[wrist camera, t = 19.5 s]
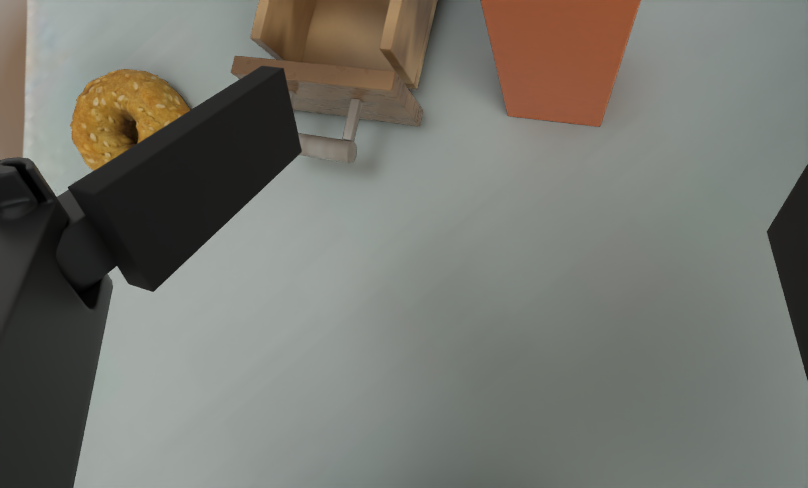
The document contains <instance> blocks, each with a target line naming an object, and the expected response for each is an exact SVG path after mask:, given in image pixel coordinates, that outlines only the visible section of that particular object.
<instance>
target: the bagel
mask: <svg viewBox="0 0 808 488" xmlns="http://www.w3.org/2000/svg"><path fill="white" fill-rule="evenodd" d="M76 101H77V104H76V106H75V110H74V113H73V117H72V118H73V121H72V122H71V124H70V127H71V129H72V140H73V142H74V144H75V145H76V147H77V149H78V151H79V152H80V153H81V155H82V157H83V159H84V161H85V163H86V164H87V165H88V166H89V167H90V168H91V169H92V170H96V169H98V168H99V167H101V166H102V165H104V164H106V163H107V162H109V161H110V160H112V159H114V158H115V157H117V156H118V155H120V154H122V153H123V152H125V151H126V150H128V149H130V148H131V147H133V146H134V145H136V144H138V143H139V142H141V141H142V140H144V139H145V138H147V137H149V136H150V135H152V134H153V133H155V132H157V131H158V130H160V129H161V128H163V127H165V126H166V125H168V124H169V123H171V122H173V121H174V120H176V119H177V118H179V117H181V116H182V115H184V114H185V113H187V112H189V111H190V109H189V107H188V106H187V105H186V103H185V102H184V101H183V99H182V98H181V96H180V95H179V94H178V93H177V92H176V91H175V90H174V89H173V88H171V87H170V85H169V84H168V83H167V82H166V81H164V80H162V79H160V78H159V77H158V76H157V75H153V74H151V73H148V72H146V71H137V70H129V69H122V70H117V71H113V72H110V73H108V74H107V75H105V76H101V77H100V78H97V79H95V80H93V81H91V82H90V83H88V84H87V85H86V87H85V88H84V91H83V92H82V93H81V94H80V95H79V96H78V98H77V100H76ZM137 132H138V134H137ZM138 135H139V136H138Z"/></svg>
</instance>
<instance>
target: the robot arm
mask: <svg viewBox="0 0 808 488" xmlns="http://www.w3.org/2000/svg"><path fill="white" fill-rule="evenodd" d="M301 152H302V149H301V145H300V140H299V135H298V131H297V126H296V122H295V117H294V113H293V108H292V104H291V99H290V94H289V90H288V85H287V81H286V76H285V72H284V68H279V67H270V66H260V67H259V68H257V69H256V70H254V71H252V72H251V73H249V74H248V75H246V76H244V77H243V78H241V79H240V80H238V81H236V82H235V83H233V84H232V85H230V86H228V87H227V88H225V89H224V90H222V91H220V92H219V93H217V94H216V95H214V96H213V97H211V98H209V99H208V100H206V101H205V102H203V103H201V104H200V105H198V106H197V107H195V108H193V109H192V110H190V111H189V112H187V113H185V114H184V115H182V116H181V117H179V118H177V119H176V120H174V121H173V122H171V123H169V124H168V125H166V126H165V127H163V128H161V129H160V130H158V131H157V132H155V133H153V134H152V135H150V136H149V137H147V138H145V139H144V140H142V141H141V142H139V143H138V144H136V145H134V146H133V147H131V148H130V149H128V150H126V151H125V152H123V153H122V154H120V155H118V156H117V157H115V158H114V159H112V160H110V161H109V162H107V163H106V164H104V165H102V166H101V167H99V168H98V169H96V170H94V171H93V172H91V173H90V174H88V175H86V176H85V177H83V178H82V179H80V180H78V181H77V182H75V183H74V184H72V185H70V186H69V187H68V189H69V190H67V191H66V192H64V193H63V194H61V195H60V196H58V197H56V196H55V194H54V193H53V191H52V190H51V188H50V187H49V185H48V184H47V182H46V181H45V179H44V178H43V176H42V175H41V173H40V171H39V170H38V168H37V167H36V165H35V164H34V162H32V161H31V160H30V159H28V158H8V159H3V160H0V488H73V486H74V481H75V476H76V471H77V466H78V461H79V456H80V451H81V446H82V441H83V436H84V430H85V425H86V420H87V415H88V410H89V405H90V400H91V395H92V390H93V385H94V380H95V375H96V370H97V365H98V360H99V355H100V350H101V344H102V339H103V334H104V329H105V324H106V319H107V314H108V309H109V304H110V299H111V294H112V289H113V285H112V280H111V279H110V277H109V276H108V274H107V273H109V272H110V271H111V270H112V269H113V268H115V267H116V266H118V268H119V269H120V271H121V273H122V274H123V276H124V277H125V279H126V281H127V282H128V284H130V285H133V286H136V287H140V288H143V289H146V290H149V291H152V292H154V291H155V290H156V289H157V288H158V287H159V286H160V285H161V284H162V283H163V282H164V281H165V280H166V279H167V278H169V277H170V276H171V275H172V274H173V273H174V272H175V271H176V270H177V269H178V268H179V267H180V266H181V265H182V264H183V263H184V262H186V261H187V260H188V259H189V258H190V257H191V256H192V255H193V254H194V253H195V252H196V251H197V250H198V249H199V248H200V247H201V246H202V245H204V244H205V243H206V242H207V241H208V240H209V239H210V238H211V237H212V236H213V235H214V234H215V233H216V232H217V231H218V230H219V229H221V228H222V227H223V226H224V225H225V224H226V223H227V222H228V221H229V220H230V219H231V218H232V217H233V216H234V215H235V214H236V213H237V212H239V211H240V210H241V209H242V208H243V207H244V206H245V205H246V204H247V203H248V202H249V201H250V200H251V199H252V198H253V197H254V196H256V195H257V194H258V193H259V192H260V191H261V190H262V189H263V188H264V187H265V186H266V185H267V184H268V183H269V182H270V181H271V180H272V179H274V178H275V177H276V176H277V175H278V174H279V173H280V172H281V171H282V170H283V169H284V168H285V167H286V166H287V165H288V164H289V163H291V162H292V161H293V160H294V159H295V158H296V157H297V156H298V155H299V154H300V153H301ZM767 234H768V238H769V241H770V245H771V249H772V252H773V256H774V260H775V263H776V267H777V271H778V274H779V278H780V282H781V285H782V289H783V292H784V296H785V300H786V303H787V307H788V311H789V314H790V318H791V322H792V325H793V329H794V333H795V336H796V340H797V343H798V347H799V351H800V354H801V358H802V362H803V365H804V369H805V373H806V376H807V380H808V164H807V166H806V168H805V169H804V171H803V173H802V174H801V176H800V178H799V179H798V181H797V183H796V184H795V186H794V188H793V189H792V191H791V193H790V194H789V196H788V198H787V199H786V201H785V202H784V204H783V206H782V207H781V209H780V211H779V212H778V214H777V216H776V217H775V219H774V221H773V222H772V224H771V226H770V227H769V229H768V231H767Z"/></svg>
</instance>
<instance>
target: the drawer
mask: <svg viewBox="0 0 808 488" xmlns="http://www.w3.org/2000/svg"><path fill="white" fill-rule="evenodd" d="M436 4H437V0H259V3H258V7H257V11H256V15H255V20H254V24H253V28H252V32H251V37H250V38H251V39H252V40H253V41H254V42H256V43H257V44H258V45H259V46H260V47H262V48H263V49H264V50H265V51H266V52H268V53H269V54H270V55H271V56H272V57H274V58H275V59H276V60H274V59H263V58H253V57H243V56H235V57H234V61H233V65H232V70H231V73H232V74H233V75H235V76H236V77H238V78H239V79H241V78H243V77H244V76H246V75H248V74H249V73H251V72H252V71H254V70H256V69H257V68H259V67H260V66H270V67H279V68H284V72H285V76H286V81H287V85H288V90H289V94H290V99H291V104H292V108H293V109H294V110H302V111H309V112H317V113H324V114H332V115H339V116H347V120H346V124H345V129H344V133H343V137H342V139H343V140H340V139H334V138H327V137H321V136H314V135H307V134H301V133H298V135H299V140H300V145H301V149H302V152H301V153H300V154H299V155H303V156H309V157H315V158H321V159H327V160H333V161H339V162H345V163H352V162H354V160H355V158H356V154H357V147H356V144H355V142H354V139H355V135H356V130H357V126H358V121H359V118H362V119H369V120H377V121H384V122H392V123H399V124H407V125H414V126H420V123H421V118H422V114H423V109H422V108H421V106H420V105H419V104H418V102H417V101H416V99H415V98H414V97H413V95H412V94H411V92H410V91H409V90H408V88H410V89H417V88H418V83H419V79H420V75H421V70H422V66H423V61H424V57H425V53H426V48H427V44H428V39H429V35H430V31H431V26H432V22H433V17H434V13H435V9H436Z"/></svg>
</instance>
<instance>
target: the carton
mask: <svg viewBox="0 0 808 488" xmlns="http://www.w3.org/2000/svg"><path fill="white" fill-rule="evenodd" d="M640 1H641V0H481V5H482V9H483V13H484V17H485V21H486V26H487V30H488V34H489V38H490V43H491V47H492V51H493V55H494V59H495V64H496V68H497V72H498V76H499V81H500V85H501V89H502V93H503V98H504V102H505V106H506V110H507V114H508V116H512V117H520V118H529V119H538V120H546V121H555V122H563V123H572V124H581V125H589V126H598V127H599V126H601V123H602V119H603V116H604V113H605V110H606V107H607V104H608V101H609V98H610V95H611V92H612V88H613V85H614V82H615V79H616V76H617V73H618V70H619V67H620V64H621V60H622V57H623V54H624V51H625V48H626V45H627V42H628V39H629V36H630V32H631V29H632V26H633V23H634V20H635V17H636V14H637V11H638V8H639V5H640Z"/></svg>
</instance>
